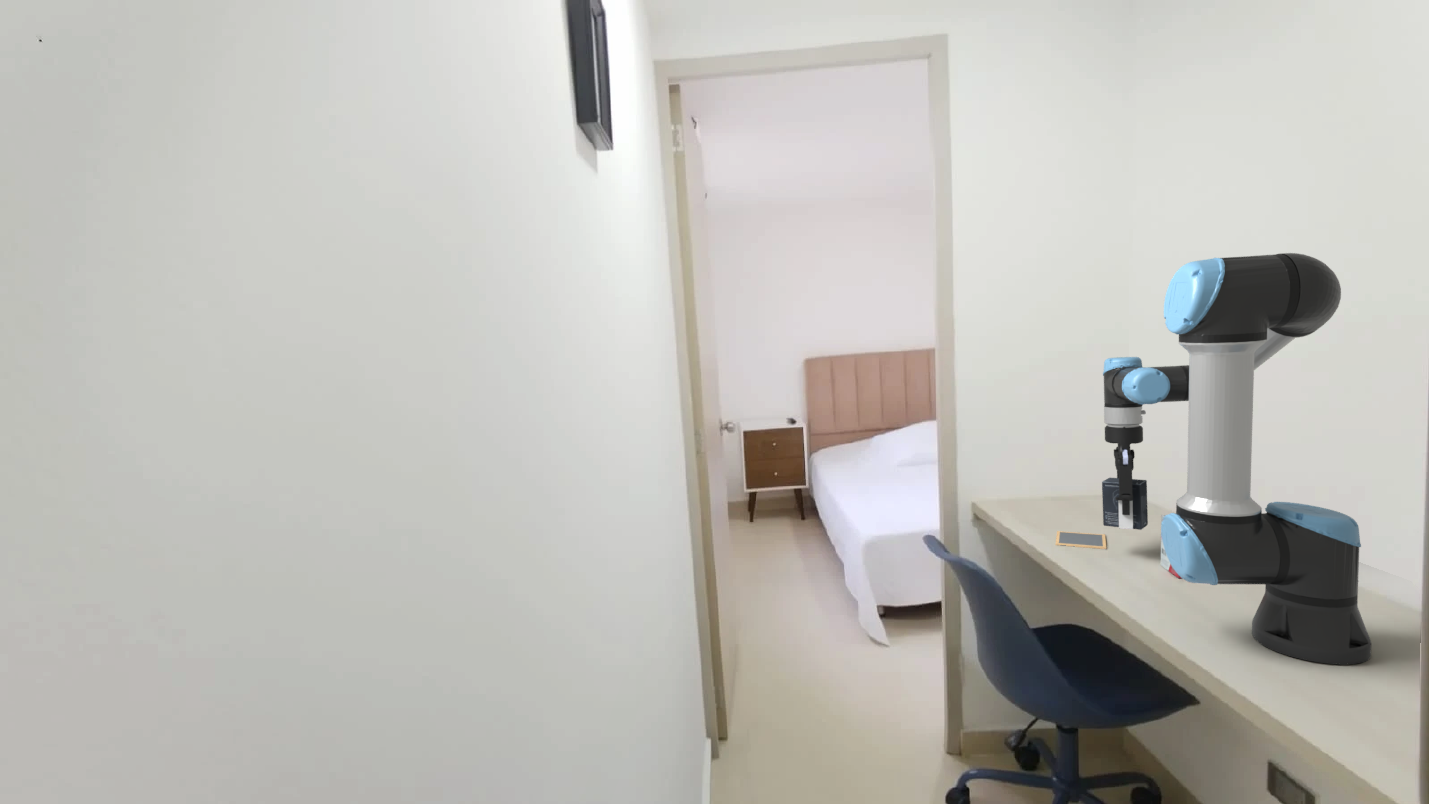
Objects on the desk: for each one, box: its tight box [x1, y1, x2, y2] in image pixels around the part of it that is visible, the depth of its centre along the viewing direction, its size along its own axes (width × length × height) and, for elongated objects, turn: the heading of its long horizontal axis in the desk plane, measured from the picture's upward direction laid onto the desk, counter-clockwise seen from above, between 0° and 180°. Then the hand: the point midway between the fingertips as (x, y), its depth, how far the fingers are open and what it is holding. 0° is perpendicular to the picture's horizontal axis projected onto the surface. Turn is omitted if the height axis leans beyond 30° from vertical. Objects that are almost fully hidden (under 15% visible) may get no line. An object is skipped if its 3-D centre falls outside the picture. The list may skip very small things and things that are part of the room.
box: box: [1101, 477, 1149, 531], centre depth 159 cm, size 8×6×11 cm
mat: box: [1055, 530, 1107, 550], centre depth 175 cm, size 11×11×1 cm
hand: (1125, 524), depth 160 cm, fingers closed on box, 7 cm apart
